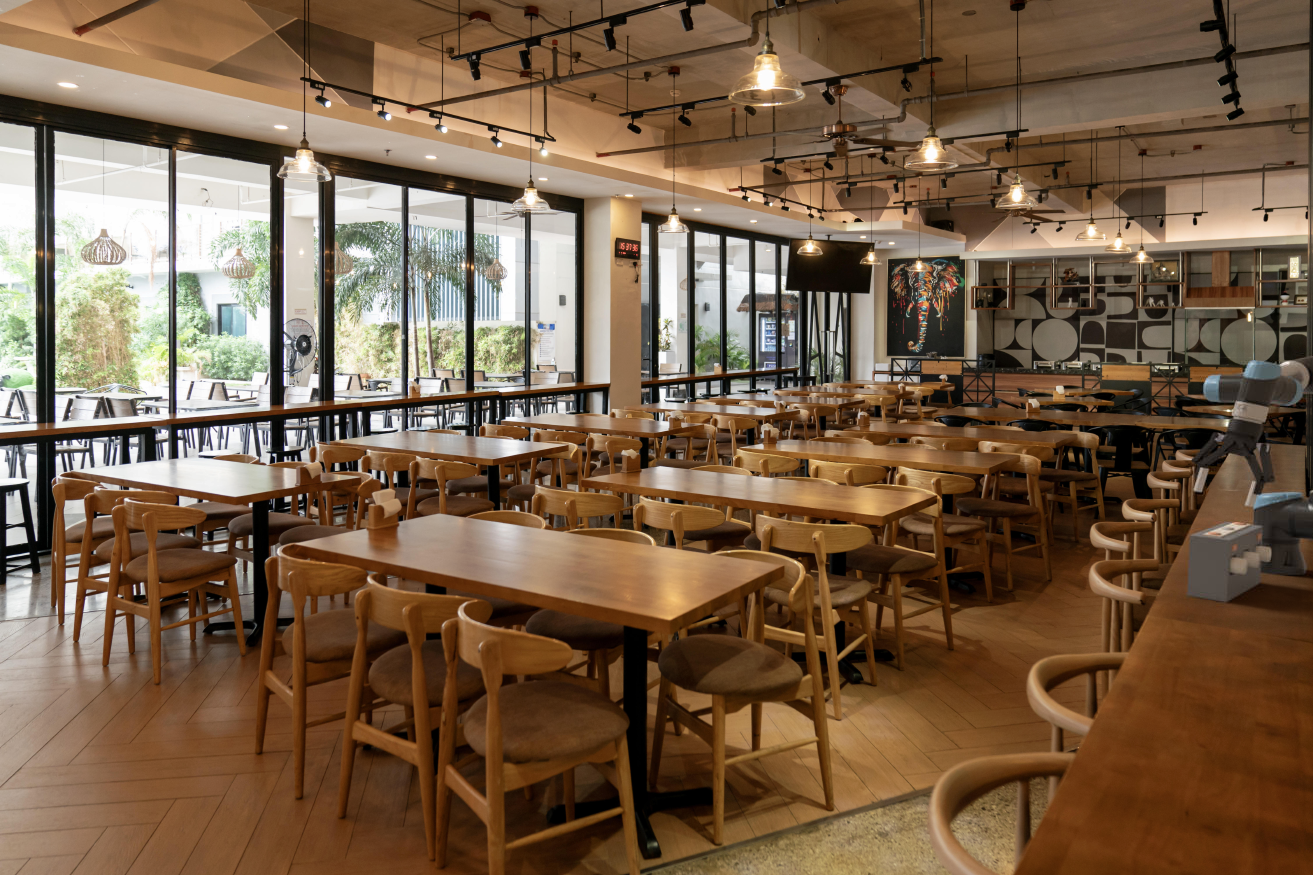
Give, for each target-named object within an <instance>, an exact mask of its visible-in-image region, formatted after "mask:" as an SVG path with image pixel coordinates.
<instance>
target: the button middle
mask: <svg viewBox="0 0 1313 875" xmlns="http://www.w3.org/2000/svg"><path fill="white" fill-rule="evenodd" d="M1243 559H1247V562H1248V567H1253V568H1258V566H1259V563H1260V555H1259V553H1255V552H1247V551H1243Z"/></svg>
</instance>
